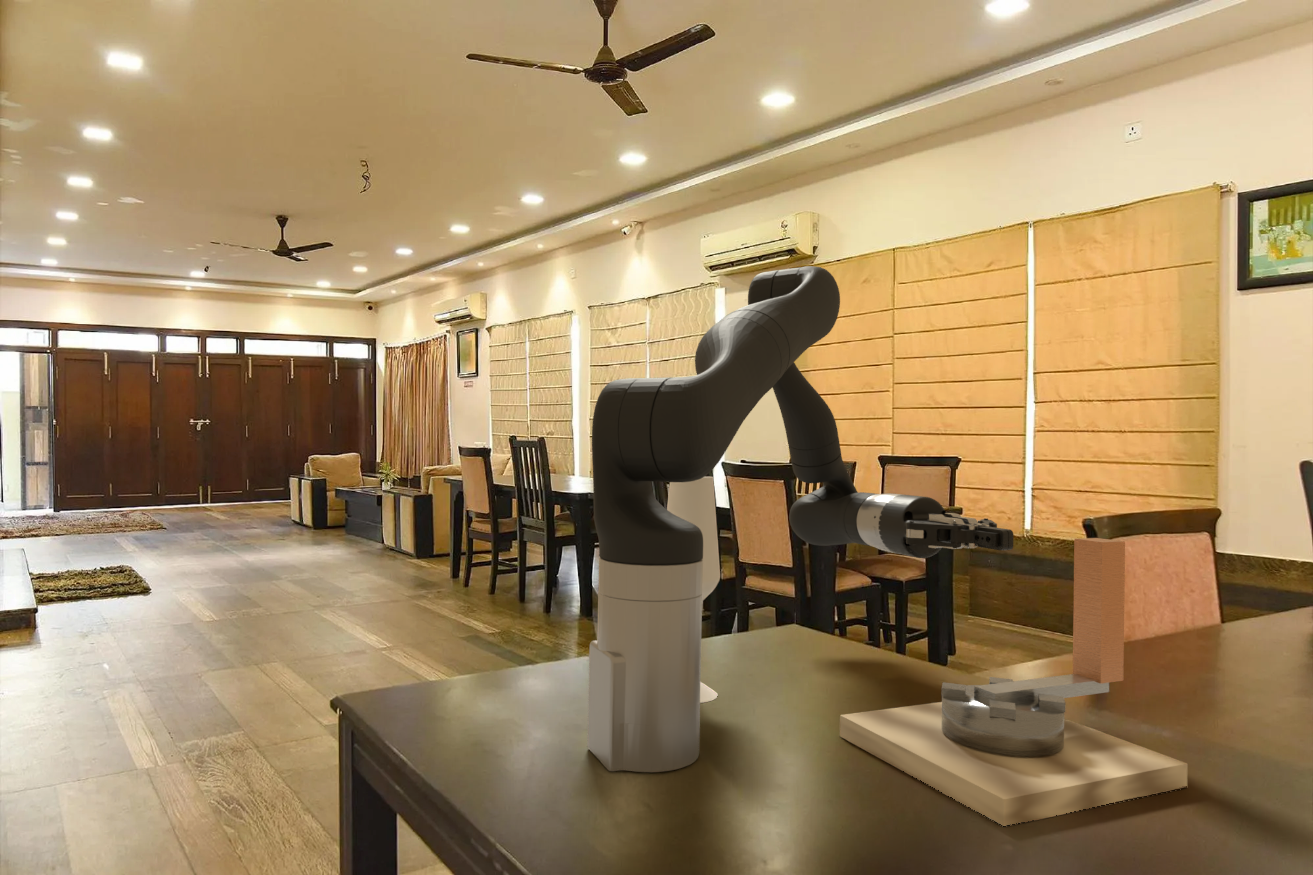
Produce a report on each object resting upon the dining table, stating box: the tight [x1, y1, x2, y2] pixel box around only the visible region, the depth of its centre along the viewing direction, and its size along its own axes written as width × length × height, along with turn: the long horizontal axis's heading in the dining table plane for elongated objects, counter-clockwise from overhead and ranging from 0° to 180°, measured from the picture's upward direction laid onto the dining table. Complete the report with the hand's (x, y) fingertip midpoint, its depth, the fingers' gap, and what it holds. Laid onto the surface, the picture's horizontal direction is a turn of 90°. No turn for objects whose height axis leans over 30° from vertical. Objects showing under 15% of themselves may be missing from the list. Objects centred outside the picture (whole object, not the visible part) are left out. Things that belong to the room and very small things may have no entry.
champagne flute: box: [666, 475, 721, 704], centre depth 91 cm, size 7×7×24 cm
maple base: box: [839, 701, 1189, 827], centre depth 73 cm, size 20×20×2 cm
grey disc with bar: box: [940, 537, 1126, 756], centre depth 74 cm, size 18×10×17 cm, turn 113°
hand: (1008, 540), depth 88 cm, fingers closed
